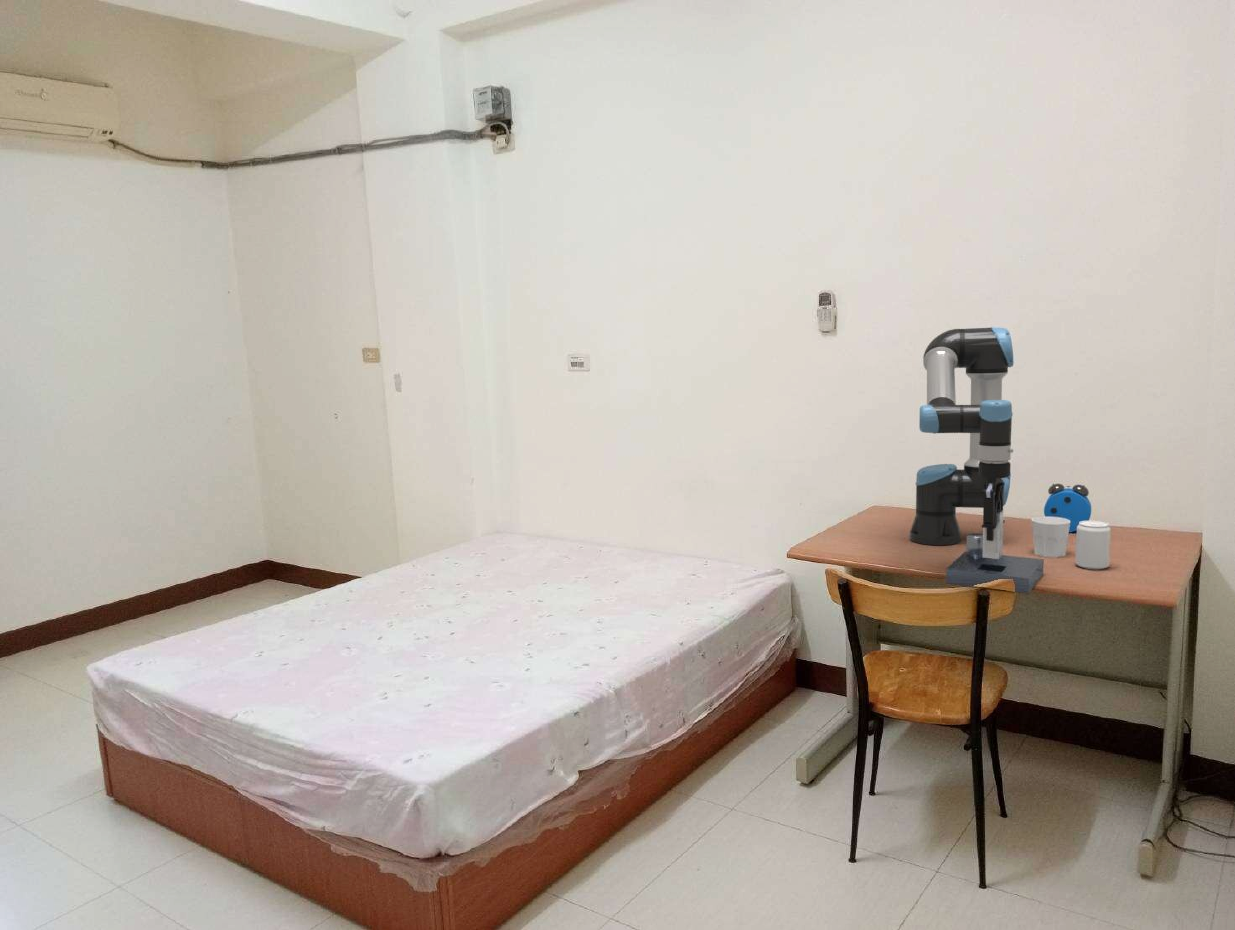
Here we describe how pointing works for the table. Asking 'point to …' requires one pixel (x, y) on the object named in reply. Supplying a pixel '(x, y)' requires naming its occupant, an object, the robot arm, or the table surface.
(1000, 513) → the grey square peg
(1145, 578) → the table surface
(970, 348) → the robot arm
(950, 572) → the slotted metal base
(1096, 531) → the beverage can
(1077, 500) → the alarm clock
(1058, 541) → the cup
